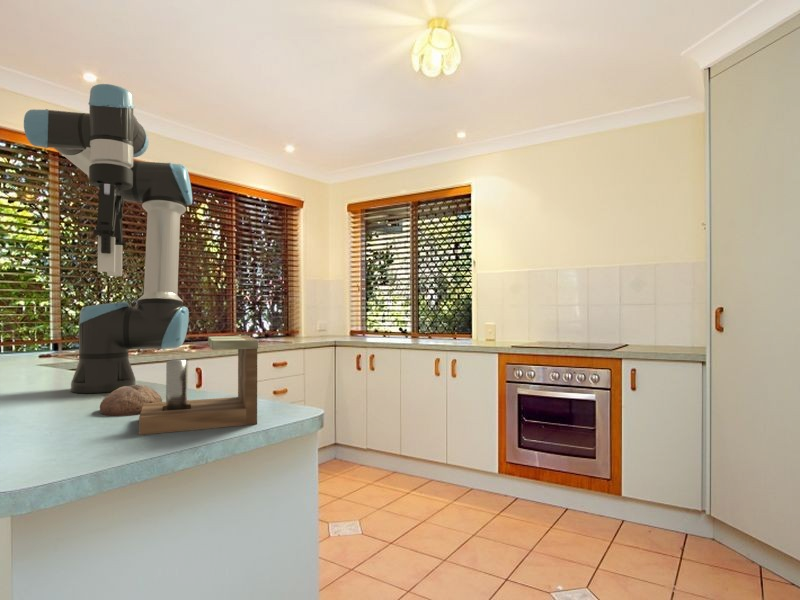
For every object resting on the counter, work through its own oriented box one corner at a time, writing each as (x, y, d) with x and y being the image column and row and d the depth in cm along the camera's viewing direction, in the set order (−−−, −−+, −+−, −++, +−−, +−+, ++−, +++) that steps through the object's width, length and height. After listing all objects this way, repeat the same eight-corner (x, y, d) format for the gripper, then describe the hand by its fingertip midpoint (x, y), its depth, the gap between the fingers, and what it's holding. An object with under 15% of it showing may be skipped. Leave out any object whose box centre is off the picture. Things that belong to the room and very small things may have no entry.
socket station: (144, 417, 102) (144, 338, 102) (247, 409, 110) (247, 335, 110) (138, 436, 87) (139, 343, 87) (257, 425, 95) (258, 340, 95)
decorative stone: (128, 419, 102) (128, 391, 102) (86, 414, 106) (86, 388, 106) (174, 407, 113) (174, 383, 113) (134, 404, 117) (134, 380, 117)
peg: (186, 420, 99) (186, 359, 99) (186, 424, 96) (187, 360, 96) (166, 422, 98) (166, 359, 98) (165, 426, 94) (166, 361, 95)
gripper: (98, 179, 110) (97, 277, 110) (77, 146, 87) (77, 269, 87) (137, 182, 113) (136, 277, 113) (127, 151, 90) (126, 270, 90)
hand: (110, 274), depth 100 cm, fingers open, 13 cm apart
